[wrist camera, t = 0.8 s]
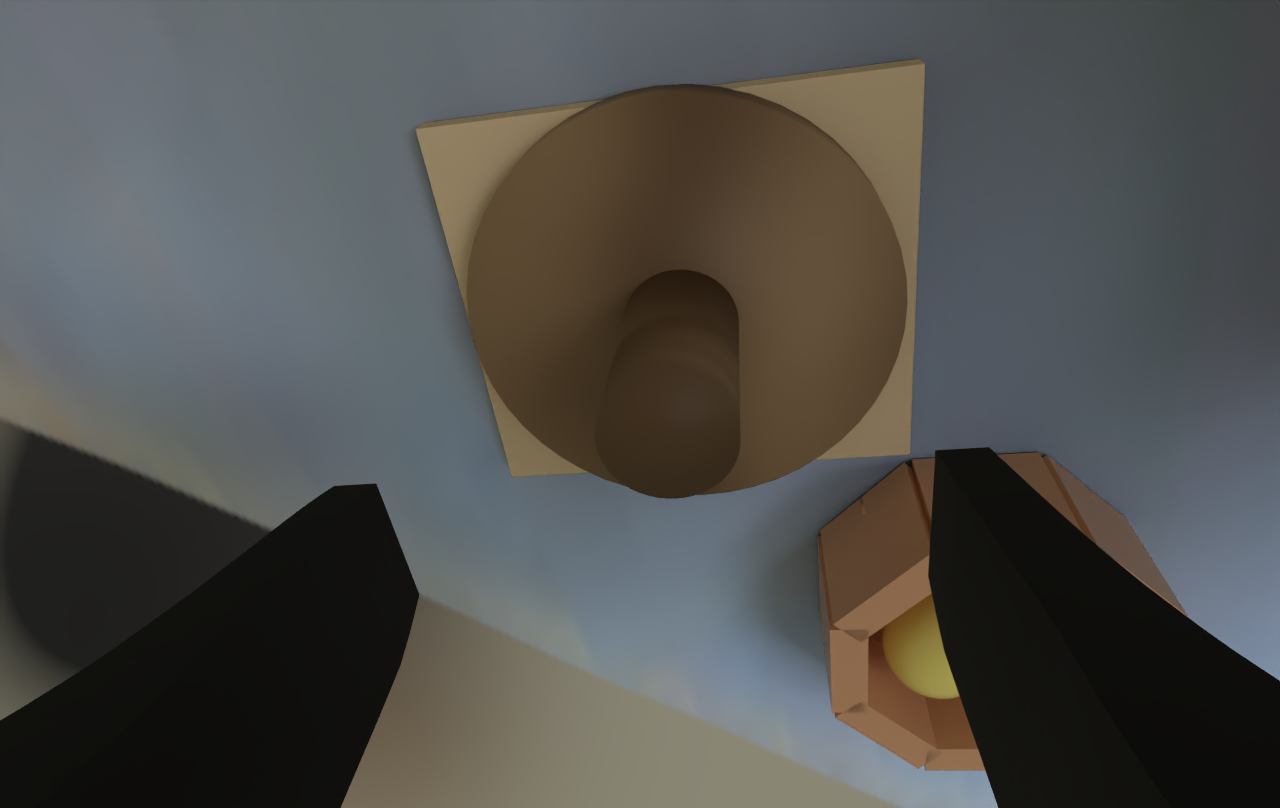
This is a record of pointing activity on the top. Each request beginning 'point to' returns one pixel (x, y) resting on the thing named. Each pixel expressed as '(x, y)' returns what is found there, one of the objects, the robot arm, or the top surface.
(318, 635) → the robot arm
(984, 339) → the top surface
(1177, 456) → the top surface
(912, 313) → the mat
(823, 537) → the bowl
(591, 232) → the lid
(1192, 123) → the top surface
